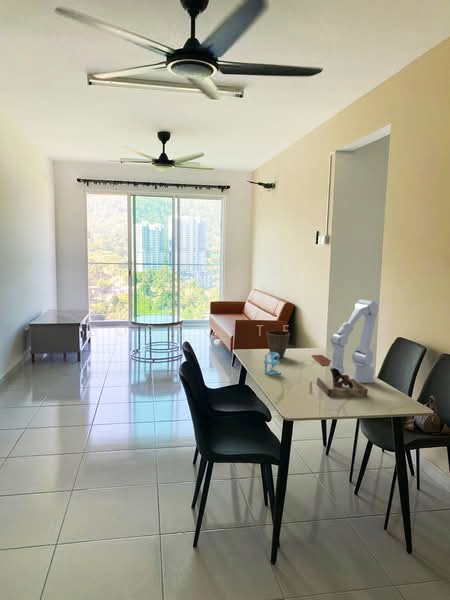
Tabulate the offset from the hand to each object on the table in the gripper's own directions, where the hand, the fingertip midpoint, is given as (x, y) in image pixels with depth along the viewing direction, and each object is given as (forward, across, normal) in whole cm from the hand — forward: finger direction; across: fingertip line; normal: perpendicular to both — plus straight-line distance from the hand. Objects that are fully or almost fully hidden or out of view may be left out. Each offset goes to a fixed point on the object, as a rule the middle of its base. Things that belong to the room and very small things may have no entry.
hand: (335, 382), depth 210 cm
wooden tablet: (+2, -48, +10) cm, 49 cm away
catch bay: (+1, +7, 0) cm, 7 cm away
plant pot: (+2, -54, -19) cm, 57 cm away
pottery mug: (+2, +6, +2) cm, 6 cm away
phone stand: (+2, -19, -30) cm, 36 cm away
